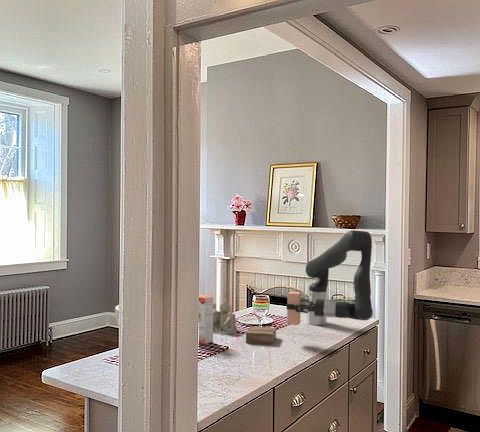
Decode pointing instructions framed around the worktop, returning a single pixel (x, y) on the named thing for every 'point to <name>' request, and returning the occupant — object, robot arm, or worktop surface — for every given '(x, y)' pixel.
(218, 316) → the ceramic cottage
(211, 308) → the cracker box
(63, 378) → the worktop surface
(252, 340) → the walnut base
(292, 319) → the terracotta block
